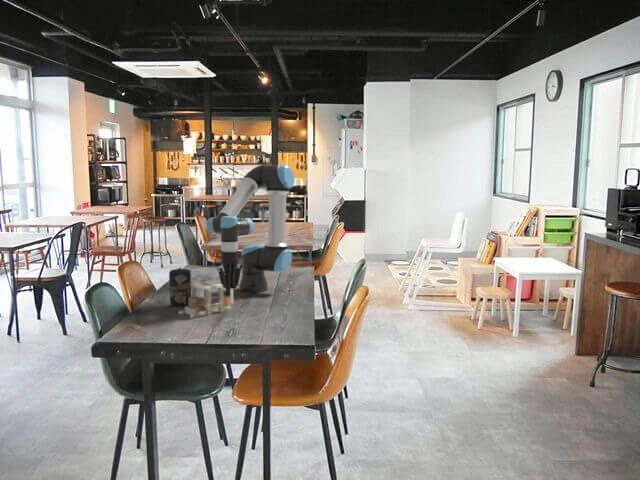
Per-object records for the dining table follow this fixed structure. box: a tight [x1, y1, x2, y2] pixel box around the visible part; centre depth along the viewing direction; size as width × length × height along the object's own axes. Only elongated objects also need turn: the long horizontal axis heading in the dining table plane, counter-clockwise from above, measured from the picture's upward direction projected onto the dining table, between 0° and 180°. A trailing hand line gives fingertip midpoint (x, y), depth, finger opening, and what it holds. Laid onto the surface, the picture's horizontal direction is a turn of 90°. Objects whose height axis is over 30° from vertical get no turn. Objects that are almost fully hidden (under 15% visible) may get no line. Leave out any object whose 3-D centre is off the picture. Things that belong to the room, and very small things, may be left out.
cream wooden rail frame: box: [178, 280, 232, 319], centre depth 249 cm, size 26×12×13 cm, turn 136°
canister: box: [168, 267, 192, 308], centre depth 259 cm, size 10×10×18 cm
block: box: [188, 295, 204, 312], centre depth 244 cm, size 4×5×6 cm
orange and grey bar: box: [184, 296, 232, 316], centre depth 249 cm, size 21×7×4 cm, turn 136°
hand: (230, 302), depth 257 cm, fingers closed
